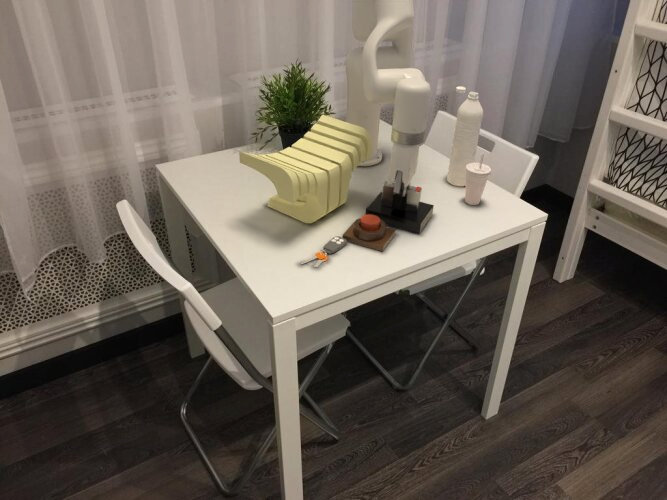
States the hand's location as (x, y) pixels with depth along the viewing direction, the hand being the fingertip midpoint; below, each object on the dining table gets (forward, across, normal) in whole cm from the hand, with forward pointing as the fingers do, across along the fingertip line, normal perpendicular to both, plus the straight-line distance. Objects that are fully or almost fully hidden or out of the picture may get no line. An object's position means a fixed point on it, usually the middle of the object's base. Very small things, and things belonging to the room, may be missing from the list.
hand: (400, 205), depth 143 cm
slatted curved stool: (+4, +4, -22) cm, 23 cm away
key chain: (+4, +22, -11) cm, 25 cm away
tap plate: (+3, 0, 0) cm, 3 cm away
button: (0, +12, -4) cm, 12 cm away
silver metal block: (0, 0, 0) cm, 0 cm away
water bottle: (+4, -26, +9) cm, 28 cm away
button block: (+3, +12, -4) cm, 13 cm away
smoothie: (+4, -16, +16) cm, 22 cm away
